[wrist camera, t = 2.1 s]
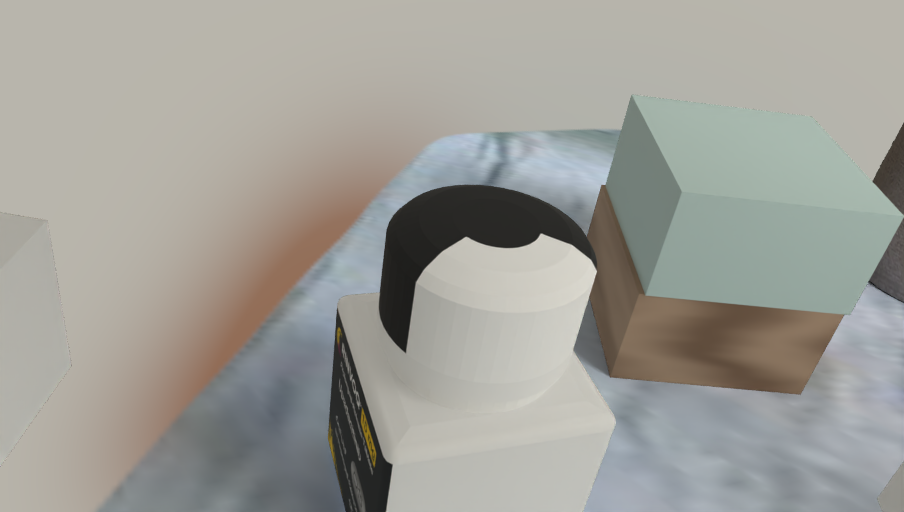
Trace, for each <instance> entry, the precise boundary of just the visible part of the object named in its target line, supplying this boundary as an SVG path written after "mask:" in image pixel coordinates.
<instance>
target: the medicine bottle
mask: <svg viewBox="0 0 904 512" xmlns="http://www.w3.org/2000/svg"><path fill="white" fill-rule="evenodd" d="M596 273H597V259H596V255H595V252H594V250H593V248H592V245H591V244H590V242H589V240H588V239H587V237H586V235H585V234H584V232H583V231H582V229H581V228H580V227H579V226H578V225H577V224H576V223H575V222H574V221H573V220H572V219H571V218H570V217H569V216H567V215H566V214H564V213H563V212H562V211H560V210H559V209H557V208H555V207H554V206H552V205H550V204H548V203H546V202H544V201H542V200H540V199H538V198H535V197H532V196H530V195H527V194H524V193H521V192H517V191H514V190H509V189H505V188H500V187H493V186H484V185H455V186H448V187H442V188H438V189H434V190H431V191H428V192H425V193H423V194H421V195H419V196H417V197H415V198H414V199H412V200H411V201H409V202H408V203H407V204H405V205H404V206H403V207H402V208H400V209H399V210H398V211H397V212H396V213H395V214H394V215H393V217H392V219H391V220H390V222H389V225H388V228H387V232H386V241H385V250H384V259H383V268H382V277H381V287H380V292H379V293H367V294H356V295H347V296H344V297H342V298H341V299H339V302H338V305H337V317H336V331H335V345H334V360H333V374H332V388H331V402H330V416H329V430H328V440H329V445H330V449H331V453H332V457H333V461H334V465H335V469H336V473H337V477H338V481H339V485H340V489H341V493H342V497H343V501H344V505H345V510H346V512H583V511H584V508H585V506H586V503H587V500H588V498H589V495H590V492H591V489H592V487H593V484H594V481H595V479H596V476H597V473H598V471H599V468H600V465H601V463H602V460H603V457H604V455H605V452H606V449H607V446H608V444H609V441H610V438H611V436H612V433H613V430H614V428H615V425H616V420H615V417H614V415H613V413H612V411H611V410H610V408H609V407H608V405H607V403H606V402H605V400H604V399H603V397H602V395H601V394H600V392H599V391H598V389H597V387H596V386H595V384H594V383H593V381H592V379H591V378H590V376H589V375H588V373H587V371H586V370H585V368H584V367H583V365H582V364H581V362H580V360H579V359H578V357H577V356H576V354H575V352H574V351H573V348H574V345H575V342H576V339H577V335H578V332H579V329H580V325H581V322H582V319H583V316H584V312H585V309H586V306H587V302H588V299H589V296H590V292H591V289H592V286H593V283H594V279H595V276H596Z"/></svg>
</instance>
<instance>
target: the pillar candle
mask: <svg viewBox="0 0 904 512" xmlns="http://www.w3.org/2000/svg"><path fill="white" fill-rule="evenodd" d="M873 183H874V184H875V185H876V186H877V187H878V188H879V189H880V190H881V192H882V193H883V194H884V195H885V196H886V197H887V198H888V199H889V200H890V201H891V202H892V203H893V204H894V206H895V207H896V208H897V209H898V210H899V211H900V212H901V213H902V214H903V215H904V123H903V125H902V127H901V129H900V131H899V133H898V135H897V137H896V139H895V140H894V141H893V143H892V146H891V148H890V150H889V151H888V153H887V155H886V157H885V159H884V160H883V162H882V164H881V165H880V168H879V170H878V172H877V173H876V176H875V178H874V180H873ZM869 281H870V282H872V283H873V284H875V286H876V287H878V288H879V289H881V290H883V291H884V292H886V293H887V294H889V295H891V296H893V297H895V298H896V299H898V300H900V301H902V302H904V218H903V220H902V222H901V223H900V225H899V227H898V229H897V231H896V232H895V234H894V236H893V238H892V240H891V242H890V243H889V245H888V247H887V249H886V251H885V252H884V254H883V256H882V258H881V260H880V262H879V263H878V265H877V267H876V269H875V271H874V272H873V274H872V276H871V278H870V280H869Z"/></svg>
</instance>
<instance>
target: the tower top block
mask: <svg viewBox="0 0 904 512" xmlns="http://www.w3.org/2000/svg"><path fill="white" fill-rule="evenodd" d="M605 186H606V189H607V192H608V195H609V197H610V200H611V203H612V206H613V208H614V211H615V214H616V217H617V219H618V222H619V225H620V228H621V230H622V233H623V236H624V238H625V241H626V244H627V247H628V249H629V252H630V255H631V258H632V260H633V263H634V266H635V268H636V271H637V274H638V277H639V279H640V282H641V285H642V287H643V290H644V293H645V296H656V297H666V298H677V299H687V300H697V301H708V302H718V303H729V304H739V305H750V306H760V307H770V308H781V309H791V310H802V311H812V312H822V313H833V314H843V315H850V314H851V312H852V310H853V309H854V307H855V305H856V303H857V301H858V300H859V298H860V296H861V294H862V292H863V291H864V289H865V287H866V285H867V283H868V281H869V280H870V278H871V276H872V274H873V272H874V271H875V269H876V267H877V265H878V263H879V262H880V260H881V258H882V256H883V254H884V252H885V251H886V249H887V247H888V245H889V243H890V242H891V240H892V238H893V236H894V234H895V232H896V231H897V229H898V227H899V225H900V223H901V222H902V220H903V218H904V215H903V214H902V213H901V212H900V211H899V210H898V209H897V208H896V207H895V206H894V204H893V203H892V202H891V201H890V200H889V199H888V198H887V197H886V196H885V195H884V194H883V193H882V192H881V190H880V189H879V188H878V187H877V186H876V185H875V184H874V183H873V182H872V181H871V180H870V179H869V178H868V176H866V174H865V173H864V172H863V171H862V170H861V169H860V168H859V167H858V166H857V165H856V164H855V162H853V160H852V159H851V158H850V157H849V156H848V155H847V154H846V153H845V152H844V151H843V150H842V148H841V147H840V146H839V145H838V144H837V143H836V142H835V141H834V140H833V139H832V138H831V137H830V135H829V134H828V133H827V132H826V131H825V130H824V129H823V128H822V127H821V126H820V125H819V124H818V123H817V121H816V120H815V119H814V118H813V117H811V116H803V115H794V114H786V113H778V112H770V111H762V110H754V109H746V108H745V109H744V108H737V107H729V106H721V105H712V104H705V103H696V102H688V101H680V100H672V99H664V98H655V97H647V96H639V95H631V98H630V102H629V105H628V109H627V113H626V116H625V119H624V123H623V126H622V130H621V133H620V137H619V140H618V144H617V147H616V151H615V154H614V158H613V161H612V165H611V168H610V171H609V175H608V178H607V182H606V185H605Z"/></svg>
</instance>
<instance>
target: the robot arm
mask: <svg viewBox="0 0 904 512" xmlns="http://www.w3.org/2000/svg"><path fill="white" fill-rule="evenodd" d="M71 366H72V365H71V359H70V353H69V347H68V341H67V335H66V329H65V323H64V317H63V311H62V305H61V299H60V293H59V287H58V281H57V275H56V268H55V263H54V256H53V250H52V244H51V239H50V232H49V227H48V221H47V220H42V219H37V218H31V217H24V216H19V215H13V214H7V213H2V212H0V467H1V465H2V464H3V462H4V461H5V459H6V458H7V456H8V455H9V454H10V452H11V451H12V449H13V448H14V447H15V445H16V444H17V442H18V441H19V440H20V438H21V437H22V435H23V434H24V432H25V431H26V430H27V428H28V427H29V425H30V424H31V423H32V421H33V420H34V418H35V417H36V416H37V414H38V413H39V411H40V410H41V408H42V407H43V406H44V404H45V403H46V401H47V400H48V399H49V397H50V396H51V394H52V393H53V392H54V390H55V389H56V387H57V386H58V384H59V383H60V382H61V380H62V379H63V377H64V376H65V375H66V373H67V371H68V370H69V369H70V367H71ZM877 500H878V502H879V505H880V507H881V509H882V511H883V512H904V462H903V463H902V464H901V466H900V467H899V469H898V470H897V471H896V473H895V474H894V476H893V477H892V478H891V480H890V481H889V483H888V484H887V485H886V487H885V488H884V490H883V491H882V492H881V494H880V495H879V497H878V498H877Z"/></svg>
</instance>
